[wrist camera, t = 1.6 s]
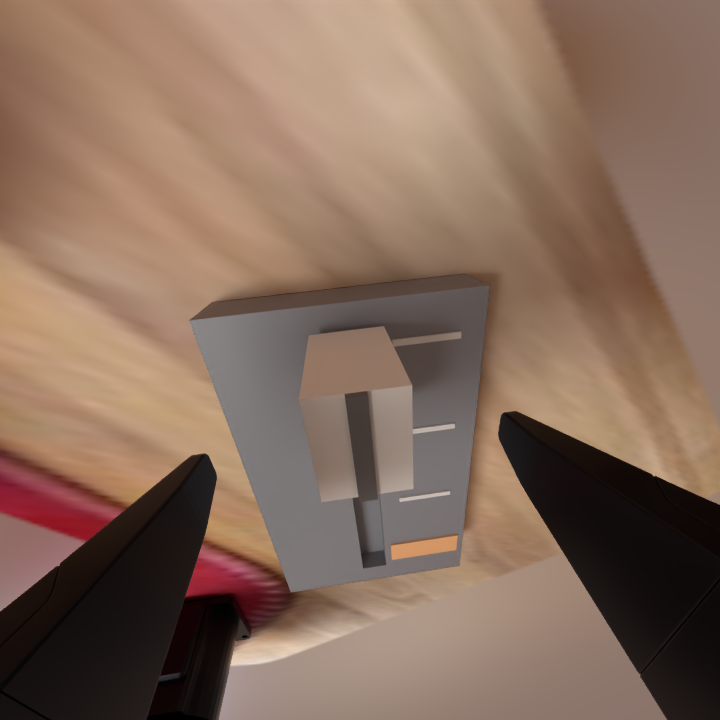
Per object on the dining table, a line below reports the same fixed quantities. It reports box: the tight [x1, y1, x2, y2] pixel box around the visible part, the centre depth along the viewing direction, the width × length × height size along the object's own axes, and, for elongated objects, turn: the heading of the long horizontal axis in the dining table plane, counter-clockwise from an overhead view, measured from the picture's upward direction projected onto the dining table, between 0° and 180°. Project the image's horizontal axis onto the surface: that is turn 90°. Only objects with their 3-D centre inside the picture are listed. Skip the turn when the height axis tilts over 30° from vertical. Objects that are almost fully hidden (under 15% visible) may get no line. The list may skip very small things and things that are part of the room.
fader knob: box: [299, 326, 413, 502], centre depth 11 cm, size 4×3×6 cm
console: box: [189, 274, 490, 592], centre depth 17 cm, size 20×12×3 cm, turn 5°
